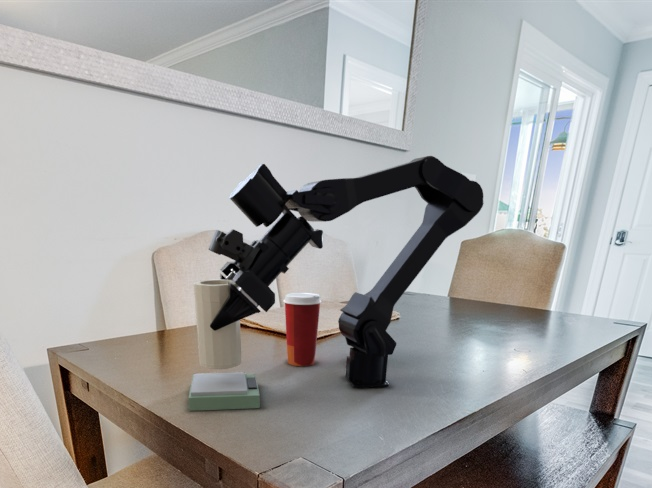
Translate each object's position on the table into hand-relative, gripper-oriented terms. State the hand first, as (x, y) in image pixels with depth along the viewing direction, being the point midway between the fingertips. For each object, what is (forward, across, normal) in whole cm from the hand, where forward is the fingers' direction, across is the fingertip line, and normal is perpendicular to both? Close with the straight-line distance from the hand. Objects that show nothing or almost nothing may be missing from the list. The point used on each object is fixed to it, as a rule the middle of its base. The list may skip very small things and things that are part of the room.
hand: (209, 323), depth 73 cm
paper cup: (-5, -16, +23) cm, 29 cm away
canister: (+4, 0, +6) cm, 7 cm away
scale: (+8, +1, +10) cm, 13 cm away
